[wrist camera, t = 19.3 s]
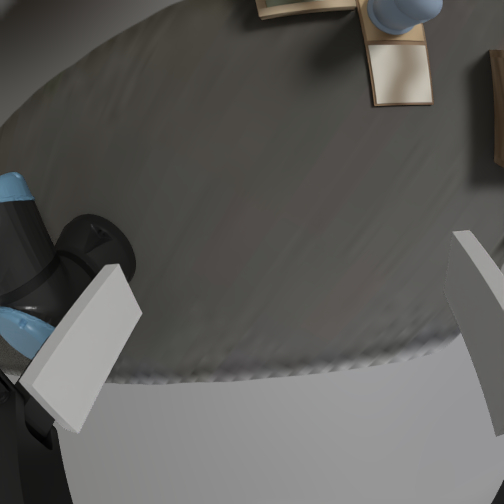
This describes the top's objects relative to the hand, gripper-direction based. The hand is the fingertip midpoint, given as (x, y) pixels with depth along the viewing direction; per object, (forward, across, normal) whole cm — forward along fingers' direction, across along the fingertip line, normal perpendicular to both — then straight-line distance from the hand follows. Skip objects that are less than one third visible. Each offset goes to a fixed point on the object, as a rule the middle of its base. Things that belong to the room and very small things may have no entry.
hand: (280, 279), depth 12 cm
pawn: (+30, +14, +14) cm, 36 cm away
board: (+31, +14, +14) cm, 37 cm away
